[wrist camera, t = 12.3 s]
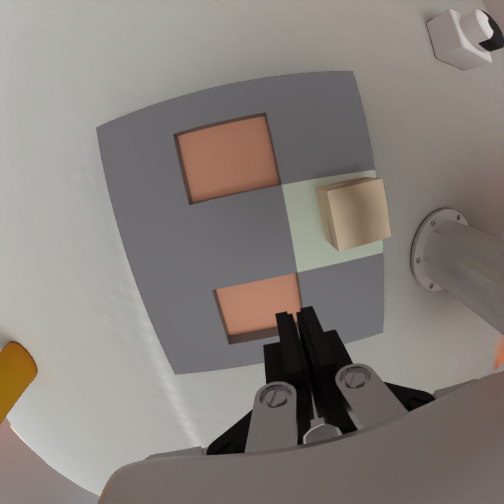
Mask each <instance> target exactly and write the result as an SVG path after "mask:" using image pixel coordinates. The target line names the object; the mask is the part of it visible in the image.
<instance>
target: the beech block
mask: <svg viewBox="0 0 504 504" xmlns="http://www.w3.org/2000/svg"><path fill="white" fill-rule="evenodd" d="M315 191H316V196H317V200H318V204H319V209H320V213H321V218H322V223H323V228H324V232H325V237H326V241H327V242H328V243H330V244H331V245H332V246H333V247H334V248H335V249H336V250H337V251H338V252H341V251H345V250H348V249H351V248H355V247H358V246H362V245H365V244H369V243H372V242H375V241H379V240H382V239H385V238H389V237H391V231H390V223H389V216H388V209H387V202H386V196H385V190H384V184H383V179H381V178H372V177H360V178H355V179H351V180H347V181H342V182H338V183H333V184H329V185H325V186H321V187H317V188H315Z"/></svg>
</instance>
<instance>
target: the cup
mask: <svg viewBox="0 0 504 504" xmlns="http://www.w3.org/2000/svg"><path fill="white" fill-rule="evenodd" d="M311 393H312V392H311ZM312 402H313V411H314V420H310V421H311V428H310V429H309V431H308V432H307V433H306V434H305V435H304V443H305V444H306V443H311V442H315V441H320V440H324V439H328V438H332V437H336V436H339V435H338V433H337V430H336V427H335V426H332V425H330V424H325V422H324V419H323V418H318V415H317V411H316V408H315V404H314V400H313V396H312Z"/></svg>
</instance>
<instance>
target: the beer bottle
mask: <svg viewBox="0 0 504 504" xmlns="http://www.w3.org/2000/svg"><path fill="white" fill-rule="evenodd" d="M36 374H37V367H36V364H35V362H34V360H33V359H32V357H31V356H30V354H29V353H28V352H27V351H26V350H25V349H24V348H23V347H22V346H21V345H19V344H17V343H15V342H11V343H9V344H7V345H6V346H5V347H4V348H3V350H2V351H1V352H0V424H1V423H2V421H3V420H4V418H5V417H6V415H7V414H8V413H9V411H10V410H11V408H12V407H13V406H14V404H15V403H16V401H17V400H18V399H19V397H20V396H21V395H22V393H23V392H24V391H25V389H26V388H27V387H28V386H29V384H30V383H31V382H32V381H33V380H34V378H35V376H36Z"/></svg>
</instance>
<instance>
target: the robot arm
mask: <svg viewBox="0 0 504 504" xmlns="http://www.w3.org/2000/svg"><path fill="white" fill-rule="evenodd" d="M411 267H412V272H413V275H414V277H415V279H416V281H417V282H418V283H419V284H420V285H421V286H422V287H424V288H425V289H427V290H429V291H441V290H445V291H447V292H448V293H450V294H451V295H452V296H454V297H455V298H456V299H458V300H459V301H460V302H462V303H463V304H464V305H466V306H467V307H468V308H470V309H471V310H472V311H473V312H475V313H476V314H477V315H479V316H480V317H481V318H482V319H484V320H485V321H486V322H487V323H489V324H490V325H491V326H492V327H494V328H495V329H496V330H497V331H499V332H500V333H501V334H503V335H504V240H503V239H501V238H498V237H496V236H493V235H491V234H488V233H486V232H483V231H480V230H478V229H475V228H472V227H470V226H469V224H468V222H467V220H466V219H465V217H464V216H463V215H462V214H461V213H459V212H458V211H456V210H453V209H447V208H444V209H439V210H437V211H435V212H433V213H432V214H431V215H430V216H428V217H427V218H426V220H425V221H424V222H423V223H422V225H421V226H420V228H419V230H418V232H417V234H416V236H415V239H414V242H413V246H412V251H411ZM275 316H276V322H277V327H278V333H279V338H280V342H276V343H271V344H265V345H263V351H264V362H265V374H266V385H264V386H263V387H261V388H260V389H259V390H258V391H257V393H256V395H255V399H254V405H253V409H252V410H251V411H250V412H249V413H248V414H247V415H245V416H244V417H243V418H242V419H241V420H239V421H238V422H237V423H236V424H235V425H233V426H232V427H231V428H230V429H228V430H227V431H226V432H225V433H223V434H222V435H221V436H220V437H218V438H217V439H216V440H215V441H213V442H212V443H211V444H210V445H209V447H206V448H202V447H201V446H199V447H194V448H189V449H184V450H178V451H172V452H165V453H158V454H154V455H150V456H149V457H147V458H146V459H145V460H142V461H138V462H133V463H130V464H127V465H125V466H123V467H121V468H119V469H117V470H116V471H115V472H114V473H113V474H112V475H111V477H110V478H109V480H108V481H107V483H106V485H105V487H104V489H103V491H102V494H101V496H100V498H99V501H98V504H504V371H503V372H498V373H494V374H491V375H488V376H485V377H482V378H480V379H474V380H470V381H467V382H464V383H460V384H457V385H454V386H450V387H447V388H443V389H439V390H435V391H434V394H430V393H427V392H425V391H420V390H416V389H411V388H407V387H403V386H399V385H394V384H390V383H386V382H383V381H382V380H381V379H380V377H379V376H378V375H377V374H376V373H375V371H374V370H373V369H372V368H371V367H369V366H367V365H365V364H359V363H358V364H353V363H352V361H351V358H350V356H349V354H348V352H347V350H346V348H345V346H344V344H343V342H342V340H341V339H340V337H339V335H338V333H337V331H336V330H335V329H334V330H330V331H326V332H324V331H323V329H322V326H321V324H320V322H319V320H318V317H317V315H316V313H315V311H314V308H313V306H308V307H304V308H300V312H296V316H297V323H298V329H299V334H298V331H297V327H296V324H295V320H294V317H293V314H292V313H291V314H288V313H287V311H285V312H280V313H275ZM299 336H300V337H299ZM311 392H312V393H311ZM312 396H313V400H314V404H315V408H316V411H317V415H318V418H323V419H324V422H325V424H330V425H332V426H335V427H336V430H337V433H338V435H339V436H336V437H332V438H328V439H324V440H320V441H315V442H311V443H306V444H304V435H305V434H306V433H307V432H308V431H309V429H310V428H311V421H310V420H314V411H313V402H312Z"/></svg>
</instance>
